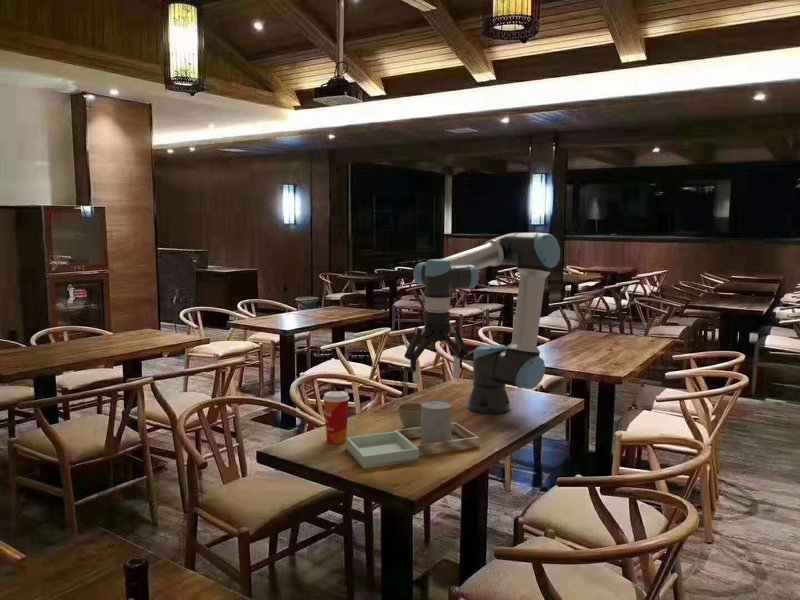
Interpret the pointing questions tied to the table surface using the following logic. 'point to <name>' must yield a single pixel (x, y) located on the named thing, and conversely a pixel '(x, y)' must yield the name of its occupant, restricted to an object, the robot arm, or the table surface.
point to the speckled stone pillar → (436, 421)
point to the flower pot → (410, 415)
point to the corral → (445, 446)
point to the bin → (381, 449)
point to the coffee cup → (336, 416)
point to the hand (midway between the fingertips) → (436, 380)
